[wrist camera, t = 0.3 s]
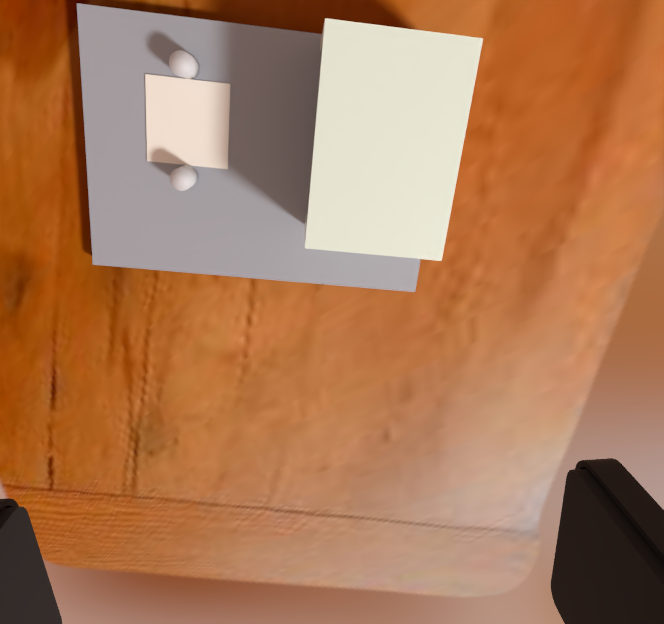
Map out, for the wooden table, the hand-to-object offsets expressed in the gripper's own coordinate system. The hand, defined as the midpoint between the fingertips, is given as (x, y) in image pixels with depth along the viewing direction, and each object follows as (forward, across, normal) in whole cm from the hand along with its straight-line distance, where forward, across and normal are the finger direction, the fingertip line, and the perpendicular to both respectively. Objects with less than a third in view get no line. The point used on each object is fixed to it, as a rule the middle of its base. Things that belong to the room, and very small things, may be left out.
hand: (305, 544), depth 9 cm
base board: (+30, +2, -4) cm, 30 cm away
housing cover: (+28, -5, -5) cm, 29 cm away
